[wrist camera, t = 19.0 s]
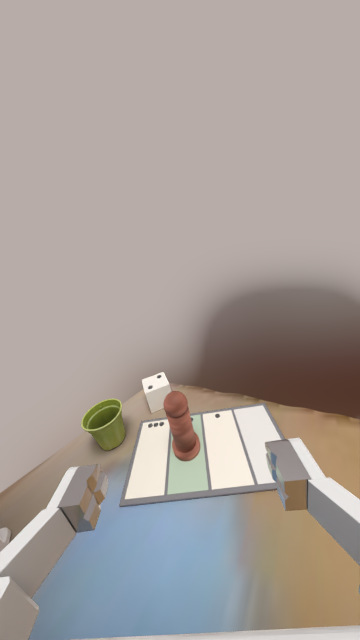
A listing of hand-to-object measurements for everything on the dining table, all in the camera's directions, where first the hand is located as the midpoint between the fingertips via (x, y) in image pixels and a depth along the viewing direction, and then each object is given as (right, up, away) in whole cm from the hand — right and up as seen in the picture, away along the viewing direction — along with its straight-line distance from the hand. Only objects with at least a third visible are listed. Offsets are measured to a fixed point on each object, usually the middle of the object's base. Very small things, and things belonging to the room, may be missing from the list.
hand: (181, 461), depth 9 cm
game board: (+5, -21, +31) cm, 38 cm away
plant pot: (-17, -24, +38) cm, 48 cm away
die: (-6, -18, +47) cm, 51 cm away
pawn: (+1, -21, +31) cm, 38 cm away
